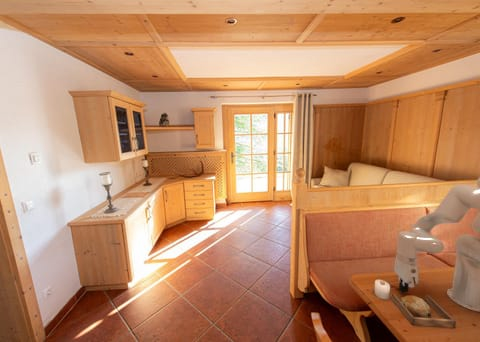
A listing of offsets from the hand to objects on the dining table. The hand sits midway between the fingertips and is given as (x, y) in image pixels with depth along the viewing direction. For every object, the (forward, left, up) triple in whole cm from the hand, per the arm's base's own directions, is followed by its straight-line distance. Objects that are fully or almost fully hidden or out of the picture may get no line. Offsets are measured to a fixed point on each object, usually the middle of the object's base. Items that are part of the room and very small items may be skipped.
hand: (403, 291), depth 97 cm
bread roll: (+2, +10, -2) cm, 10 cm away
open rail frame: (0, +11, -1) cm, 11 cm away
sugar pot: (+11, +2, -1) cm, 11 cm away
